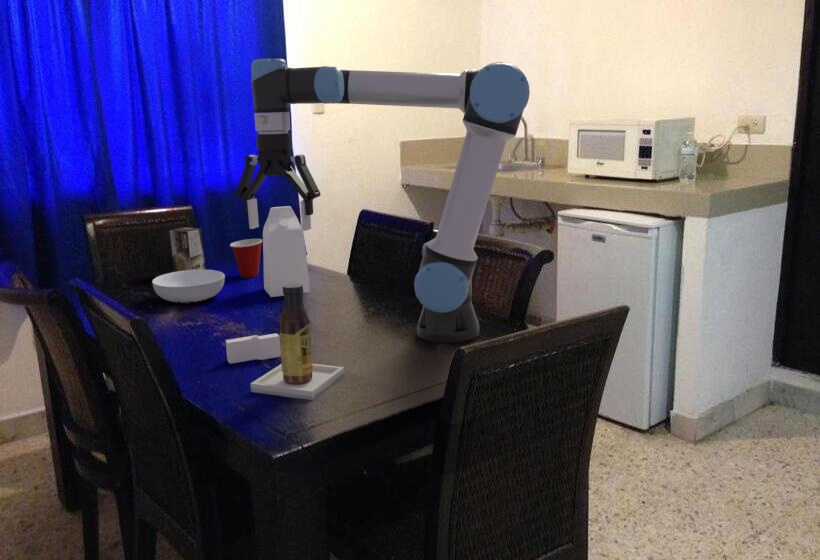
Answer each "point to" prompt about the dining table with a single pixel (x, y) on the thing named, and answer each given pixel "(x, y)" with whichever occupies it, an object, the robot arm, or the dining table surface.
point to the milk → (284, 252)
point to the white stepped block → (253, 348)
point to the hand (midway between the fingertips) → (280, 229)
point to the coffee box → (187, 249)
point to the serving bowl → (189, 285)
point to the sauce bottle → (295, 337)
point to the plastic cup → (247, 256)
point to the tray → (309, 390)
